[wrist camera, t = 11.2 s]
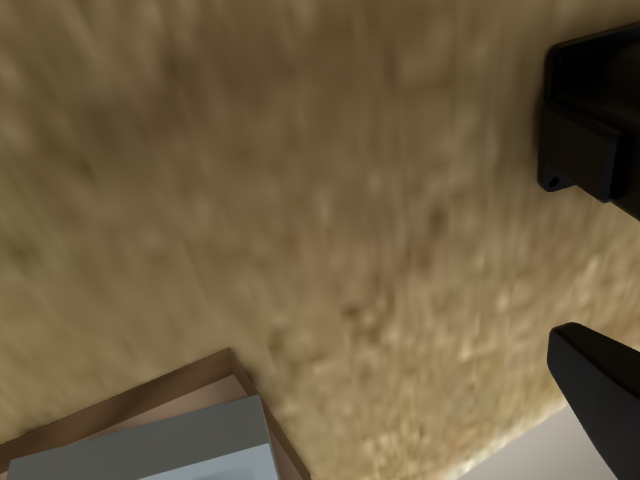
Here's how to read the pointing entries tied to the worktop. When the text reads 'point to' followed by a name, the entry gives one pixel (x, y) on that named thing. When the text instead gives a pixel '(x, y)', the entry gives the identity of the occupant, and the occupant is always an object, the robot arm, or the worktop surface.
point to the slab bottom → (159, 412)
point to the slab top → (167, 450)
